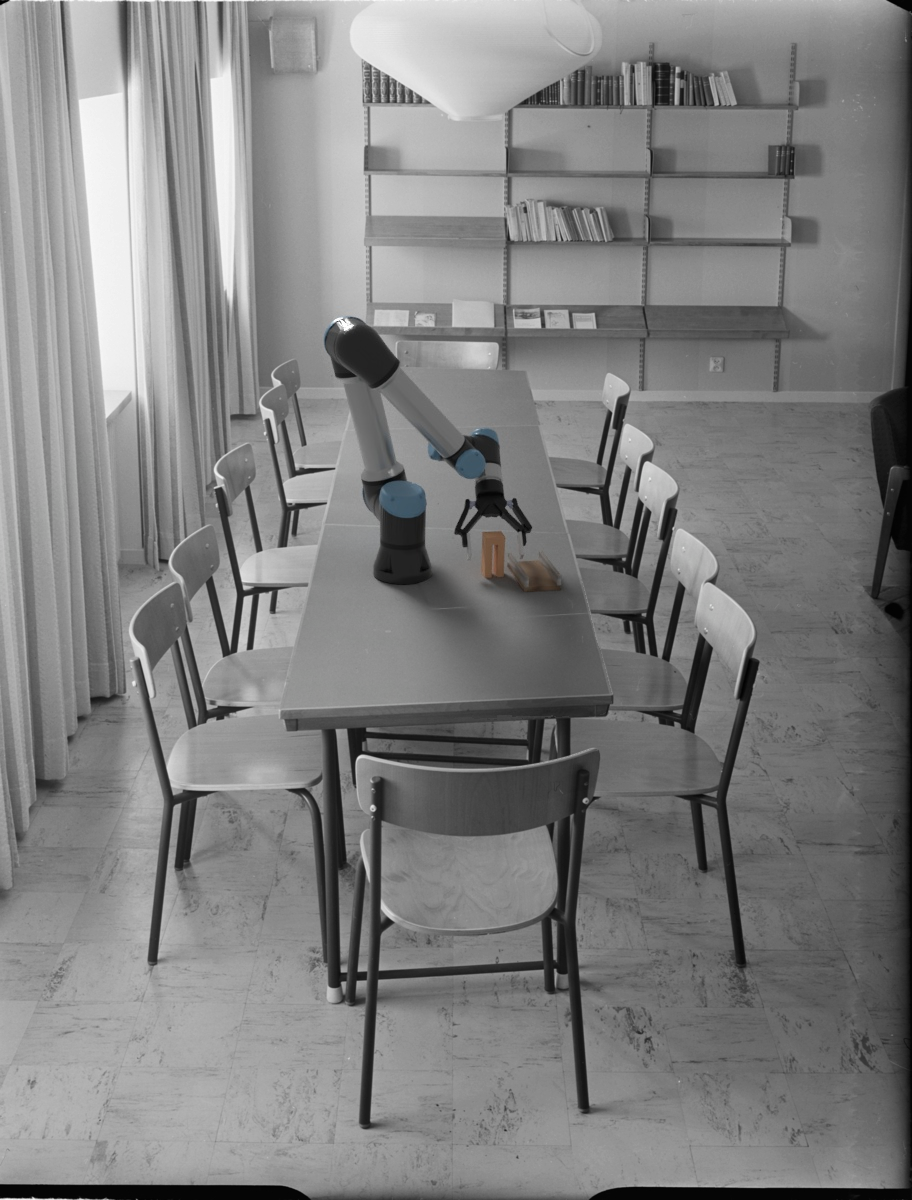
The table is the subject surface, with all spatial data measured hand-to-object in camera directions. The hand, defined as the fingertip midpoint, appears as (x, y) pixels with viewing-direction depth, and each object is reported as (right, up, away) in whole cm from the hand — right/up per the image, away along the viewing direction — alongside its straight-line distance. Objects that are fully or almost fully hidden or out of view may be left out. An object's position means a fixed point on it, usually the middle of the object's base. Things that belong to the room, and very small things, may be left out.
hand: (495, 557), depth 307 cm
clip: (-1, -4, +3) cm, 5 cm away
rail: (+10, -5, +1) cm, 11 cm away
